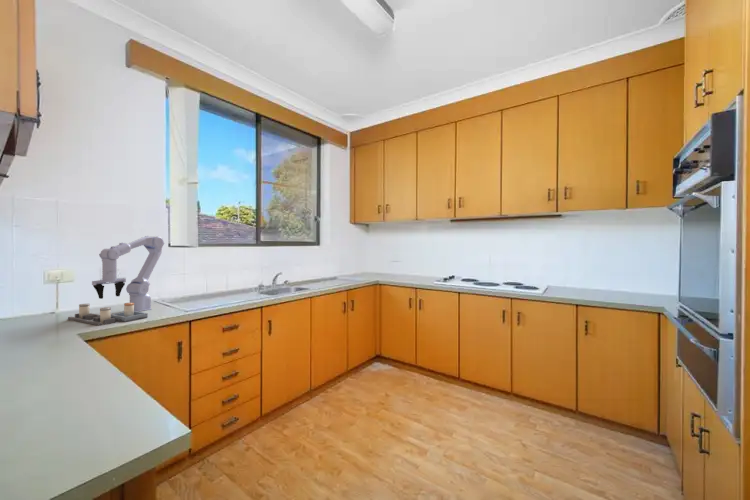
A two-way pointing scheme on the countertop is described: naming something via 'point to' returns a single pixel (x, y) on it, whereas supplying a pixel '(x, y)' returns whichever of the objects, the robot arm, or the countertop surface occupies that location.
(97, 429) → the countertop surface
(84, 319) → the clip rail
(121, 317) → the tray
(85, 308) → the cream capsule cylinder
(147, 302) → the robot arm
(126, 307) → the cylinder
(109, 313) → the fuse
